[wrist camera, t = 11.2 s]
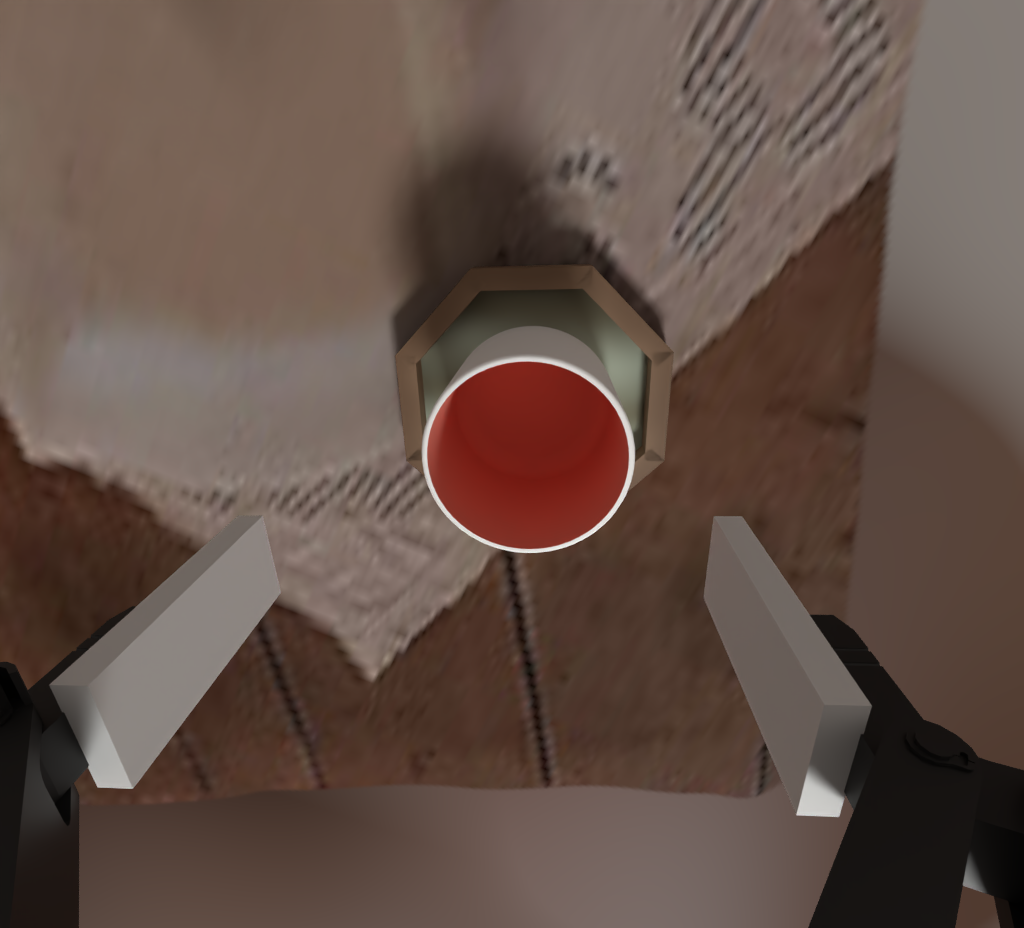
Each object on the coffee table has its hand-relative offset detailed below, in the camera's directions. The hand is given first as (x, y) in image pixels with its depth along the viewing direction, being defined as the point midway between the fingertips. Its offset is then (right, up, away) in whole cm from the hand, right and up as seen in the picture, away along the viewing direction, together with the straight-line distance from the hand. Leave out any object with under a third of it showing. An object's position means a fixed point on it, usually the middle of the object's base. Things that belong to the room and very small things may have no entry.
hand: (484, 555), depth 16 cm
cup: (+2, +7, +19) cm, 20 cm away
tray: (+2, +7, +19) cm, 21 cm away
